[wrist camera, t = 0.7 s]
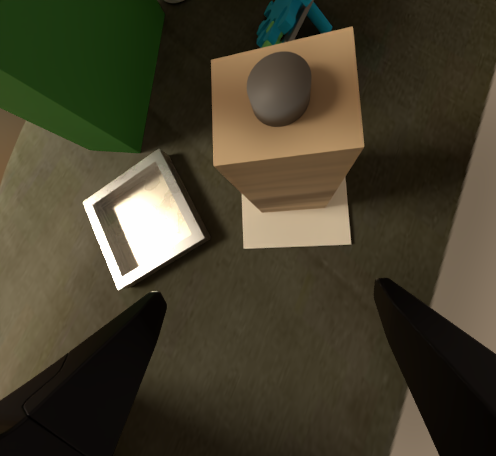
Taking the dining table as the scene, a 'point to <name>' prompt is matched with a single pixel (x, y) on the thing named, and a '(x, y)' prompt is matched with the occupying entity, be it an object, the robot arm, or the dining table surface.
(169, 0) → the supplement bottle
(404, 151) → the dining table surface
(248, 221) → the beige flat slab
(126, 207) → the pocket
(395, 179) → the dining table surface
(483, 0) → the dining table surface
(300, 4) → the gear
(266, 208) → the block
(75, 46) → the hardback book
